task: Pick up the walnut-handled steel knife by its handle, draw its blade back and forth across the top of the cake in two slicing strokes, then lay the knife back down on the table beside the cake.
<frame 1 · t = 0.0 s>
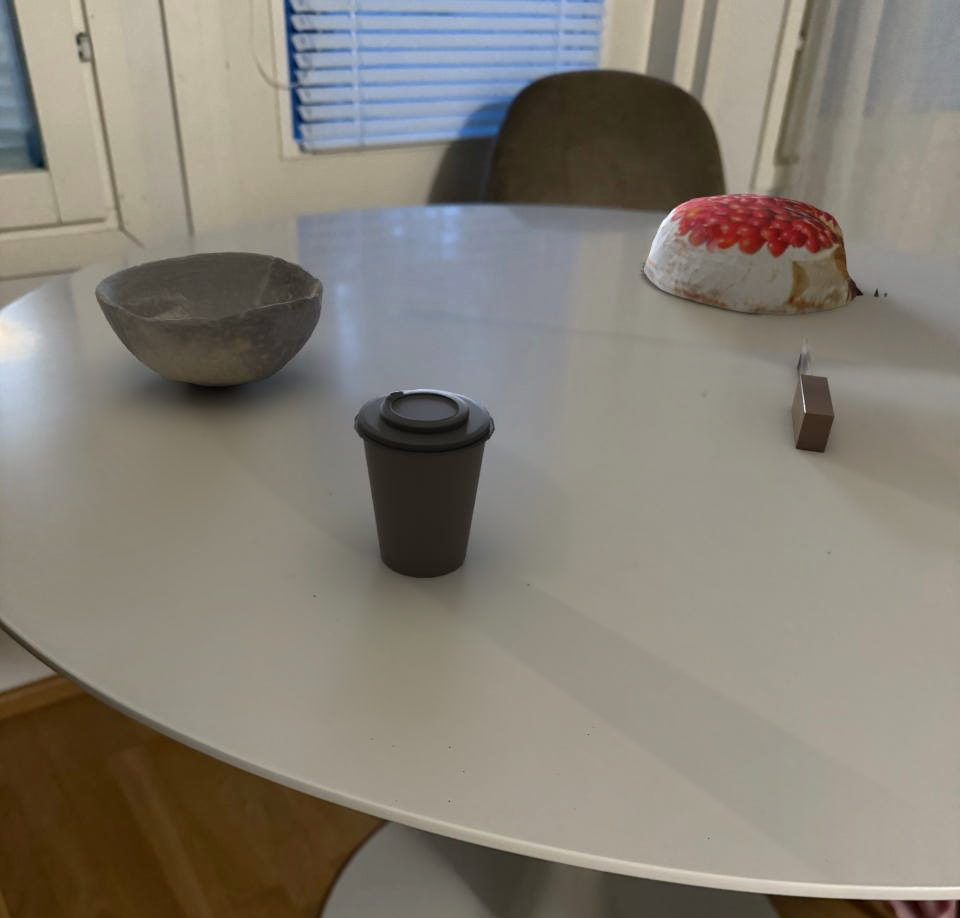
cake: (752, 294, 106), on the table
bowl: (222, 374, 82), on the table
knife: (804, 409, 81), on the table
coffee cup: (423, 556, 60), on the table
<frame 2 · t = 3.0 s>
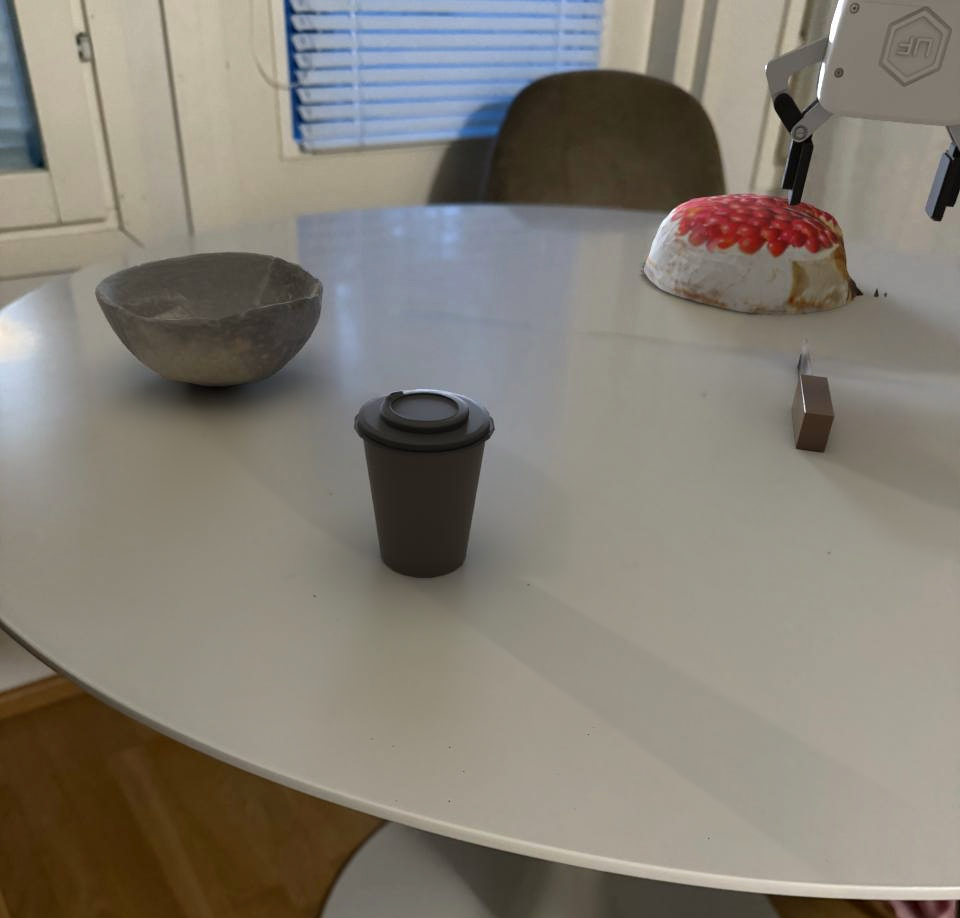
hand: (862, 209, 68), 17 cm above the table, tool pointing down, fingers open, 9 cm apart
nothing on the table moved.
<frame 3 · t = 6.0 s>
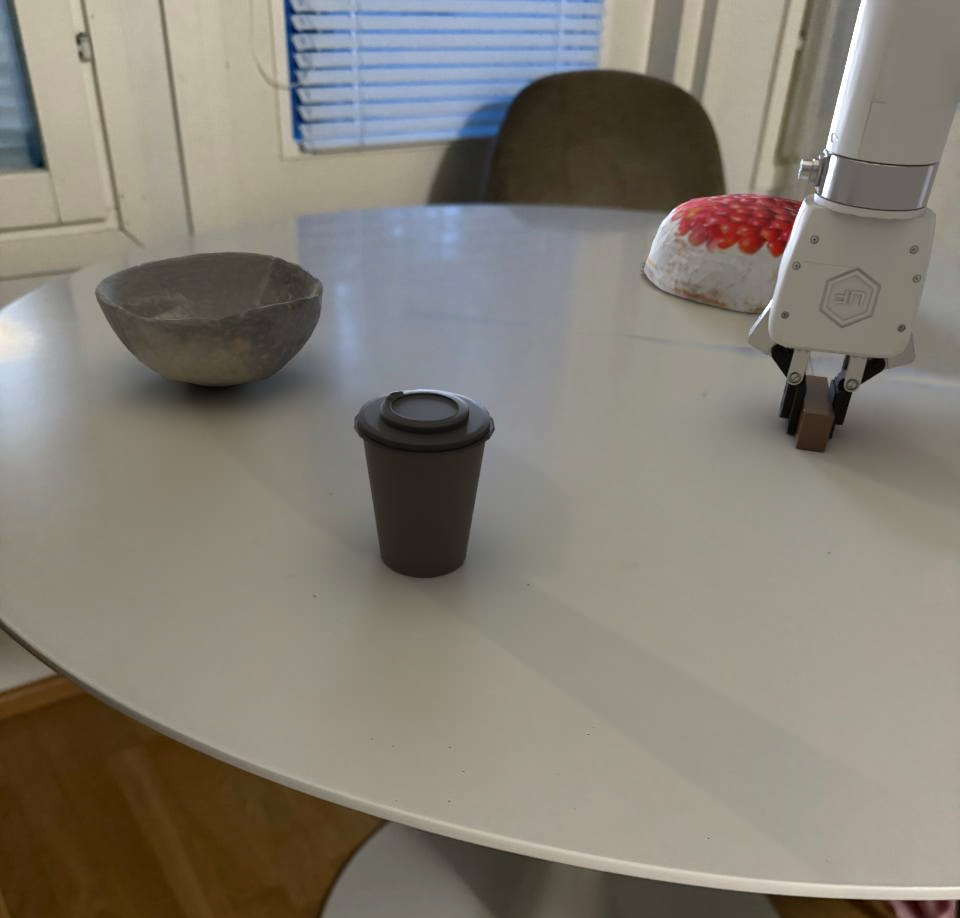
hand: (807, 427, 77), 0 cm above the table, tool pointing down, fingers closed on knife, 2 cm apart
knife: (804, 409, 81), on the table, touching gripper
everything else where it was.
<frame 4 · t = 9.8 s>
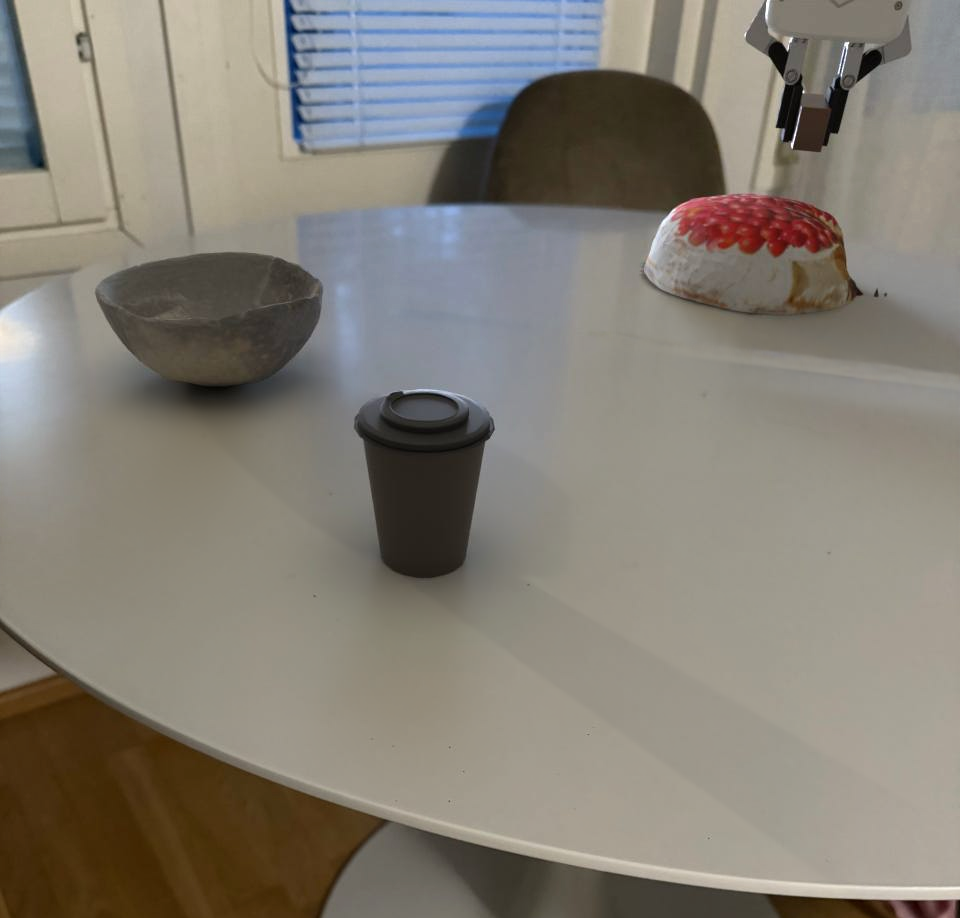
hand: (804, 139, 78), 19 cm above the table, tool pointing down, fingers closed on knife
knife: (800, 133, 81), point 18 cm above the table, touching gripper
everything else where it was.
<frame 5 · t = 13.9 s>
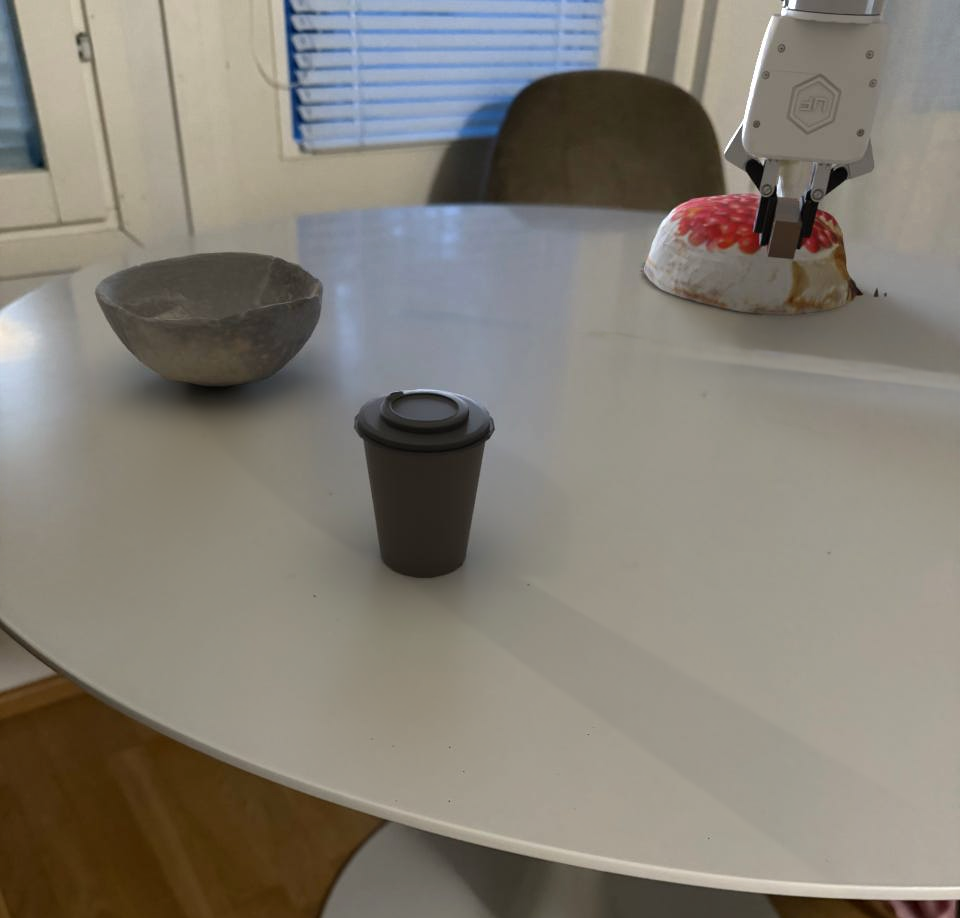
hand: (779, 242, 85), 10 cm above the table, tool pointing down, fingers closed on knife
knife: (777, 231, 89), point 10 cm above the table, touching gripper
everything else where it was.
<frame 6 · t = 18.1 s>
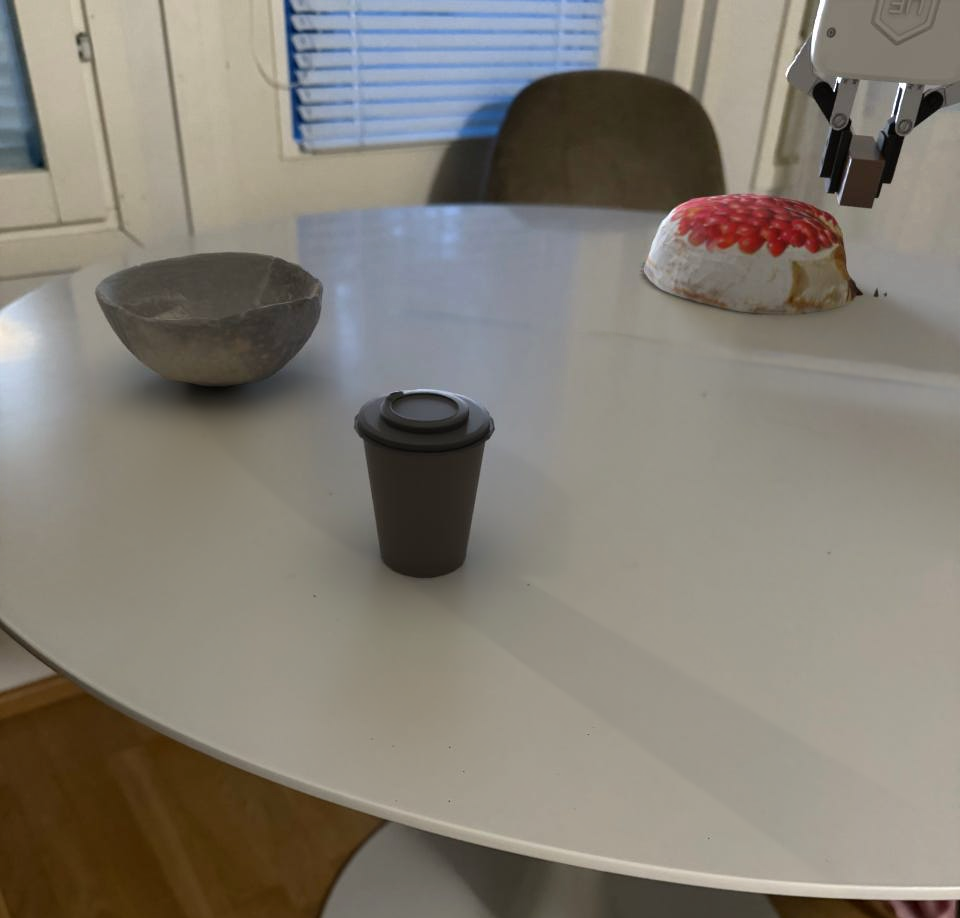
hand: (851, 189, 69), 18 cm above the table, tool pointing down, fingers closed on knife
knife: (846, 179, 72), point 17 cm above the table, touching gripper
everything else where it was.
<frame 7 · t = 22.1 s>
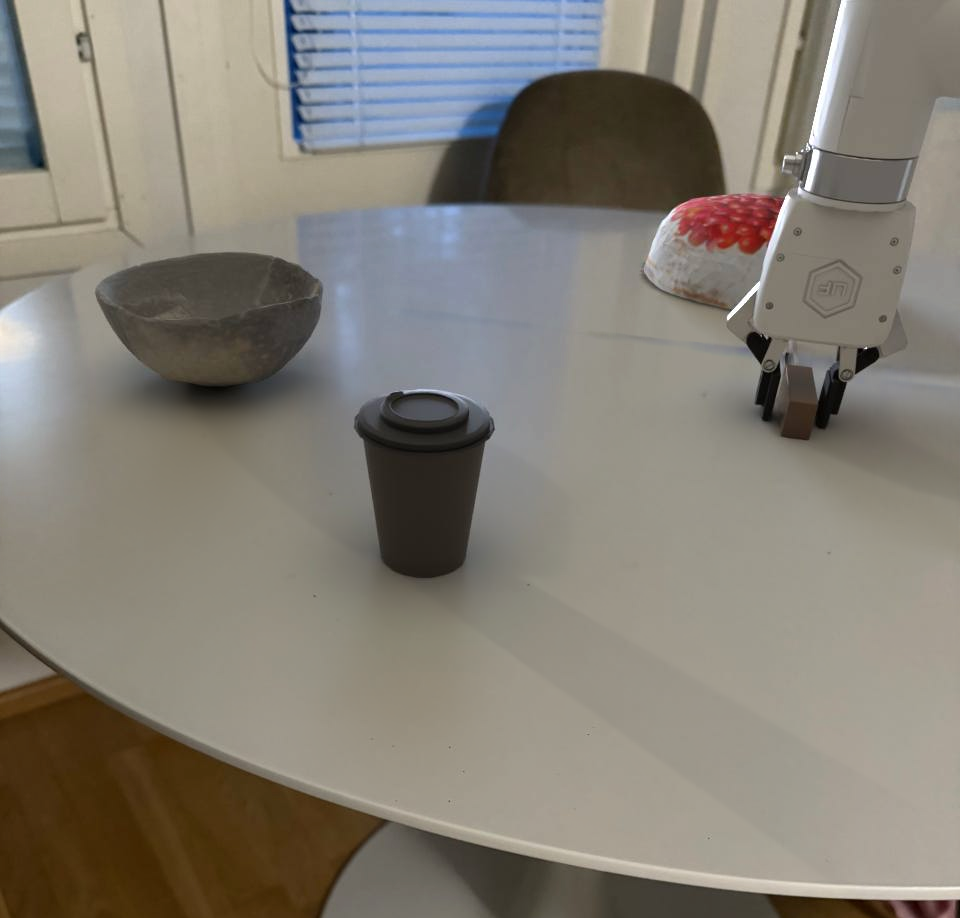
hand: (793, 415, 79), 0 cm above the table, tool pointing down, fingers open, 3 cm apart
knife: (790, 399, 82), on the table
everything else where it was.
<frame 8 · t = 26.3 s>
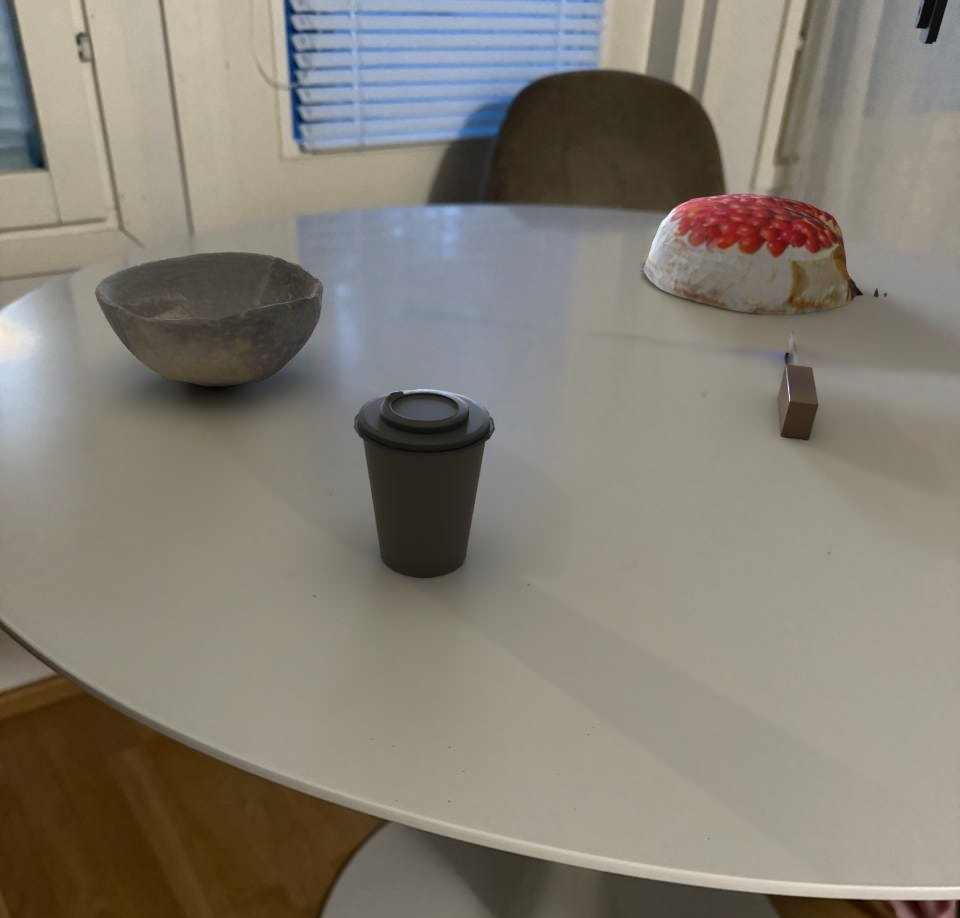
nothing on the table moved.
at the end: knife inside the target area (0.4 cm from its centre), on the table; the gripper is holding nothing; cake moved 0.2 cm from its start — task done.
